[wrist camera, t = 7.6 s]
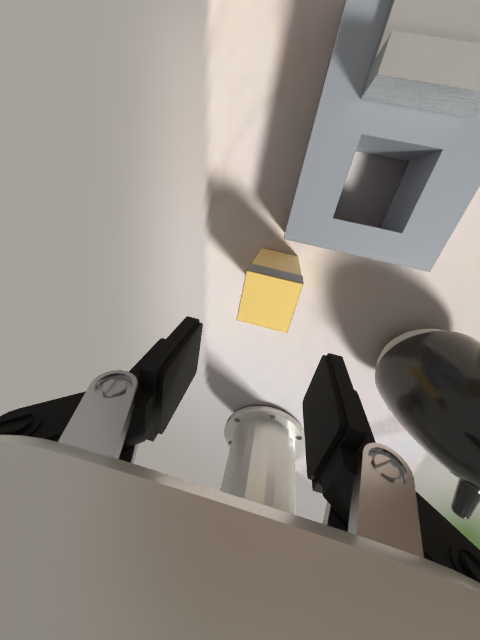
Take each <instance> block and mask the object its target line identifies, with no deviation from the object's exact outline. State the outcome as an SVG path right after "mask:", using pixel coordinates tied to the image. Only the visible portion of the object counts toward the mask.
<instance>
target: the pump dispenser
mask: <svg viewBox="0 0 480 640" xmlns="http://www.w3.org/2000/svg"><path fill="white" fill-rule="evenodd" d="M375 383H376V387H377V389H378V391H379V393H380V395H381V397H382V399H383V400H384V402H385V404H386V405H387V406H388V408H389V409H390V411H391V412H392V413H393V415H394V416H395V417H396V419H397V420H398V421H399V423H400V424H401V425H402V426H403V427H404V429H405V430H406V431H407V432H408V433H409V434H410V435H411V436H412V437H413V438H414V439H415V441H416V442H417V443H418V444H419V445H420V446H421V447H422V448H424V449H425V450H426V451H427V452H428V453H429V454H430V455H431V456H432V457H433V458H434V459H436V460H437V461H438V462H439V463H440V464H441V465H443V466H444V467H445V468H446V469H448V470H449V471H450V472H451V473H452V474H454V475H455V476H457V477H458V478H459V480H458V484H457V487H456V491H455V494H454V497H453V501H452V504H451V509H452V510H453V512H454V513H455V514H456V515H457V516H459V517H461V518H463V519H469V518H470V516H471V515H472V513H473V511H474V510H475V508H476V506H477V504H478V503H479V502H480V342H479V341H477V340H476V339H474V338H472V337H470V336H467V335H465V334H461V333H457V332H451V331H446V330H440V329H418V330H413V331H409V332H406V333H403V334H401V335H399V336H397V337H396V338H394V339H393V340H391V341H390V342H389V343H388V344H387V345H386V346H385V347H384V348H383V350H382V351H381V353H380V355H379V357H378V360H377V365H376V371H375Z"/></svg>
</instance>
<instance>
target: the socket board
mask: <svg viewBox="0 0 480 640" xmlns="http://www.w3.org/2000/svg"><path fill="white" fill-rule="evenodd" d="M392 1H393V0H346V1H345V5H344V8H343V12H342V16H341V20H340V24H339V27H338V31H337V35H336V39H335V43H334V47H333V50H332V54H331V58H330V62H329V66H328V69H327V73H326V77H325V81H324V85H323V88H322V92H321V96H320V100H319V104H318V108H317V111H316V115H315V119H314V123H313V127H312V130H311V134H310V138H309V142H308V146H307V149H306V153H305V157H304V161H303V165H302V169H301V172H300V176H299V180H298V184H297V188H296V191H295V195H294V199H293V203H292V207H291V210H290V214H289V218H288V222H287V226H286V230H285V234H284V239H286V240H290V241H295V242H299V243H303V244H308V245H312V246H317V247H321V248H326V249H330V250H335V251H339V252H343V253H348V254H352V255H357V256H361V257H366V258H370V259H374V260H379V261H383V262H388V263H392V264H397V265H401V266H406V267H410V268H414V269H419V270H423V271H428V272H430V271H431V269H432V267H433V266H434V264H435V262H436V260H437V259H438V257H439V255H440V253H441V252H442V250H443V248H444V247H445V245H446V243H447V241H448V240H449V238H450V236H451V234H452V233H453V231H454V229H455V228H456V226H457V224H458V222H459V221H460V219H461V217H462V215H463V214H464V212H465V210H466V209H467V207H468V205H469V203H470V202H471V200H472V198H473V196H474V195H475V193H476V191H477V190H478V188H479V186H480V115H479V116H477V117H475V118H469V117H463V116H457V115H451V114H446V113H440V112H434V111H428V110H423V109H417V108H411V107H405V106H400V105H394V104H388V103H382V102H376V101H371V100H365V99H361V96H362V93H363V90H364V87H365V84H366V81H367V78H368V75H369V72H370V69H371V65H372V62H373V59H374V56H375V53H376V50H377V47H378V44H379V41H380V38H381V35H382V32H383V28H384V25H385V22H386V19H387V16H388V13H389V10H390V7H391V4H392ZM356 151H358V152H363V153H369V154H374V155H379V156H384V157H390V158H395V159H400V160H405V161H409V163H408V166H407V168H406V170H405V172H404V175H403V177H402V179H401V182H400V184H399V186H398V188H397V191H396V193H395V195H394V198H393V200H392V202H391V204H390V207H389V209H388V211H387V214H386V216H385V218H384V220H383V223H382V225H381V227H380V228H379V227H375V226H370V225H366V224H361V223H356V222H352V221H347V220H342V219H338V218H333V216H334V213H335V210H336V207H337V204H338V201H339V198H340V195H341V192H342V189H343V187H344V184H345V181H346V178H347V175H348V172H349V169H350V166H351V163H352V160H353V157H354V155H355V152H356Z"/></svg>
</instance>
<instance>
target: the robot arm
mask: <svg viewBox="0 0 480 640" xmlns="http://www.w3.org/2000/svg"><path fill="white" fill-rule="evenodd" d="M202 327H203V324H202V323H199V319H195V318H192V317H188V316H187V317H186V318H185V319H184V320H183V321H182V322H181V324H180V325H179V326H178V327H177V328H176V329H175V330H174V331H173V332H172V333H171V334H170V336H169V337H168V338H167V339H163V338H162V339H160V340H159V341H158V342H157V343H156V344H155V345H154V346H153V347H152V348H151V349H150V350H149V351H148V352H147V354H145V355H144V357H143V358H142V359H141V360H140V361H139V362H138V363H137V364H136V365H135V366H134V367H133V368H132V369H131V370H130V371H129V372H127V371H122V370H117V371H111V372H106V373H104V374H101V375H99V376H98V377H97V378H96V379H94V380H93V381H92V383H91V384H90V386H89V388H88V389H87V391H86V392H82V393H78V394H74V395H70V396H67V397H62V398H58V399H55V400H51V401H47V402H43V403H39V404H35V405H31V406H27V407H23V408H19V409H17V410H13V411H10V412H8V413H6V414H4V415H2V416H0V640H480V550H479V549H478V548H477V547H476V546H475V545H474V544H473V543H471V542H470V541H469V540H468V539H467V538H466V537H465V536H464V535H463V534H462V533H460V531H458V530H457V529H456V528H455V527H454V526H453V525H452V524H451V523H450V522H449V521H448V520H446V519H445V518H444V517H443V516H442V515H441V514H440V513H439V512H438V511H437V510H436V509H435V508H433V507H432V506H431V505H430V504H429V503H428V502H427V501H426V500H425V499H424V498H423V497H421V496H420V495H419V494H418V493H417V492H416V491H415V483H414V477H413V474H412V471H411V470H410V468H409V466H408V464H407V463H406V462H405V461H404V460H403V459H402V457H400V456H399V455H398V454H397V453H396V452H395V451H393V450H392V449H390V448H388V447H387V446H384V445H382V444H379V443H376V442H375V439H374V437H373V434H372V431H371V428H370V426H369V423H368V420H367V417H366V415H365V412H364V409H363V406H362V404H361V401H360V398H359V395H358V393H357V391H355V390H354V389H353V386H352V383H351V380H350V378H349V375H348V372H347V369H346V366H345V363H344V360H343V358H342V357H341V356H338V355H334V354H330V353H329V354H327V356H325V355H323V356H322V358H321V360H320V362H319V365H318V367H317V369H316V371H315V374H314V376H313V378H312V381H311V383H310V385H309V388H308V390H307V392H306V394H305V397H304V400H303V419H304V431H303V429H302V427H301V426H300V424H299V423H298V422H297V421H296V420H295V419H294V418H293V417H291V416H290V415H289V414H287V413H285V412H283V411H281V410H278V409H275V408H272V407H267V406H250V407H245V408H242V409H240V410H238V411H236V412H235V413H233V414H232V415H231V416H230V417H229V419H228V421H227V423H226V427H225V439H226V442H227V443H228V445H229V447H230V451H229V455H228V460H227V464H226V468H225V472H224V476H223V480H222V484H221V489H220V491H218V490H215V489H212V488H209V487H206V486H203V485H199V484H196V483H193V482H189V481H187V480H184V479H180V478H177V477H174V476H171V475H168V474H164V473H161V472H158V471H155V470H151V469H148V468H145V467H142V466H139V465H135V464H134V459H135V456H136V451H137V448H138V444H139V443H141V442H143V441H145V440H146V439H147V440H150V441H154V439H155V438H156V436H157V434H158V433H160V434H162V433H163V432H164V430H165V429H166V427H167V425H168V423H169V421H170V419H171V418H172V416H173V414H174V412H175V410H176V409H177V407H178V405H179V403H180V401H181V400H182V398H183V396H184V394H185V392H186V390H187V389H188V387H189V385H190V383H191V381H192V379H193V377H194V376H195V374H196V370H197V365H198V357H199V350H200V342H201V334H202ZM304 449H306V463H307V476H308V479H310V480H312V488H313V491H316V492H319V493H322V494H323V496H324V498H325V499H326V500H327V501H328V502H327V505H326V510H325V515H324V520H323V524H321V523H318V522H315V521H312V520H309V519H305V518H302V517H300V516H297V515H296V476H295V474H296V473H295V460H297V459H298V458H299V457H300V456H301V455H302V453H303V452H304Z"/></svg>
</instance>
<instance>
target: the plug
mask: <svg viewBox="0 0 480 640" xmlns="http://www.w3.org/2000/svg"><path fill="white" fill-rule="evenodd" d="M302 286H303V277H302V275H301V271H300V265H299V259H298V256H295V255H290V254H286V253H282V252H277V251H273V250H269V249H264V248H261V249H260V251H259V253H258V254H257V256H256V257H255V259H254V260H253V262H252V263H251V264H250V265H249V267H248V268H247V271H246V276H245V281H244V285H243V290H242V295H241V300H240V305H239V310H238V315H237V320H238V321H242V322H246V323H250V324H254V325H257V326H261V327H265V328H269V329H273V330H277V331H281V332H285V333H287V332H288V329H289V326H290V323H291V320H292V317H293V314H294V311H295V308H296V305H297V302H298V299H299V295H300V292H301V289H302Z"/></svg>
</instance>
